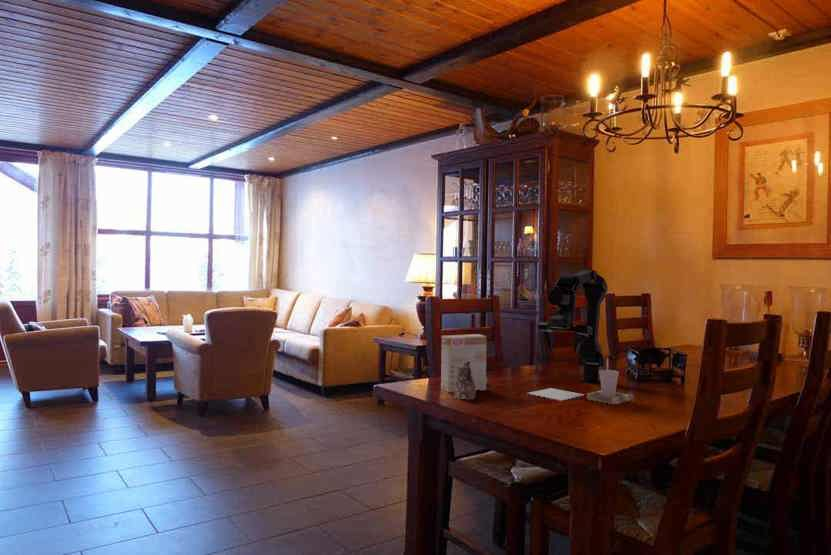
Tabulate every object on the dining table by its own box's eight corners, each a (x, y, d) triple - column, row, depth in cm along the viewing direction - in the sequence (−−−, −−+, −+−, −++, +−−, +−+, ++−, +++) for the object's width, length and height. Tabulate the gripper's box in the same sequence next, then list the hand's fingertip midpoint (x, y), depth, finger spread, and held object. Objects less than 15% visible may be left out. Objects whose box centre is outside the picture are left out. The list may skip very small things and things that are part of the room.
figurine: (449, 397, 199) (450, 361, 198) (462, 394, 204) (463, 359, 204) (466, 400, 194) (467, 364, 194) (479, 397, 199) (480, 362, 199)
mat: (550, 389, 215) (550, 388, 215) (584, 395, 205) (584, 394, 205) (527, 394, 206) (527, 393, 206) (561, 401, 195) (561, 400, 195)
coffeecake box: (477, 386, 217) (478, 333, 217) (486, 390, 211) (487, 335, 211) (440, 389, 212) (440, 334, 212) (448, 393, 206) (448, 337, 205)
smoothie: (595, 398, 201) (596, 357, 201) (613, 398, 201) (614, 357, 201) (602, 402, 194) (603, 360, 194) (621, 402, 195) (622, 360, 195)
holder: (602, 395, 205) (602, 389, 205) (629, 400, 198) (630, 394, 198) (587, 399, 198) (587, 393, 198) (614, 405, 191) (614, 398, 191)
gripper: (532, 304, 211) (528, 348, 210) (582, 307, 200) (578, 353, 198) (546, 308, 220) (542, 350, 218) (595, 311, 209) (591, 356, 207)
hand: (562, 352), depth 210 cm, fingers open, 9 cm apart
